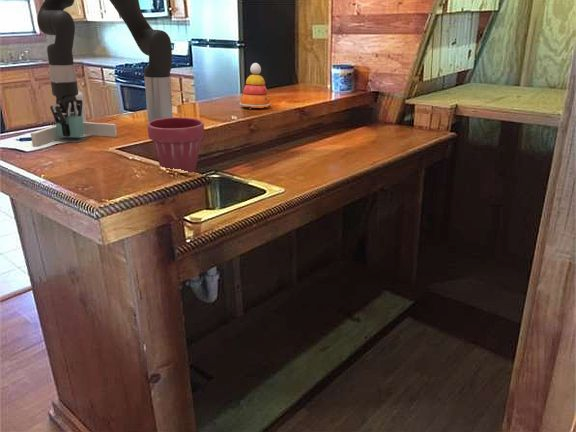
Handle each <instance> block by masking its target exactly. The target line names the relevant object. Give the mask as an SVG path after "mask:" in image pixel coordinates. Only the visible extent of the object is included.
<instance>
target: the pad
mask: <svg viewBox="0 0 576 432" xmlns="http://www.w3.org/2000/svg"><path fill="white" fill-rule="evenodd" d="M89 139H90V138H89V137H87V136H86V137H85V136H84V137H83V136H80V137H65V136H64V137H61V138H59V139H56V140H54V141H53V142H63V143H64V142H65V143H76V144H77V143H81V142H84V141H86V140H89Z"/></svg>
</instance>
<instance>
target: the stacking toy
mask: <svg viewBox="0 0 576 432" xmlns="http://www.w3.org/2000/svg"><path fill="white" fill-rule="evenodd" d="M249 69H250V73H251V74H250V75H249V76H248V77H247V78H246V80H245V86H244V88H243V90H242V91H243V92H242V93H243V94H242V96H241V98H240V102H239V106H240V105H243V106H251V107H257V106H267V105H270V104H271V105H272V103H271V102H270V98H269V96H268V89H267V87H266V81H265V79H264V77H263V76H262V75H260V73H262V67H261V65H260V64H259V63H257V62H253V63H252V64H251V65H250V68H249ZM269 103H270V104H269ZM271 105H270V106H271Z"/></svg>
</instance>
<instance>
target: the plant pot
mask: <svg viewBox="0 0 576 432" xmlns="http://www.w3.org/2000/svg"><path fill="white" fill-rule="evenodd" d="M204 126H205V125H204V121H203V120H201V119H199V118H192V117H184V116H183V117H180V116H179V117H177V116H176V117H174V116H173V117H172V118H162V119H156V120H153V121H150V122H149V123H148V122H147V134H148V135H147V137H148V139H149V140H151V141H152V143H153V147H154V150H155V151H154V152H155V155H156V157H157V160H158V164H159V166H162V167H165V168H170V169H173V168H174V169H181V170H184V171H188V172H190V173H193V172H195V171H196V169H197V163H198V160H199V154H200V148H201V140H202V139H203V138H204V137H205V127H204Z"/></svg>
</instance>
